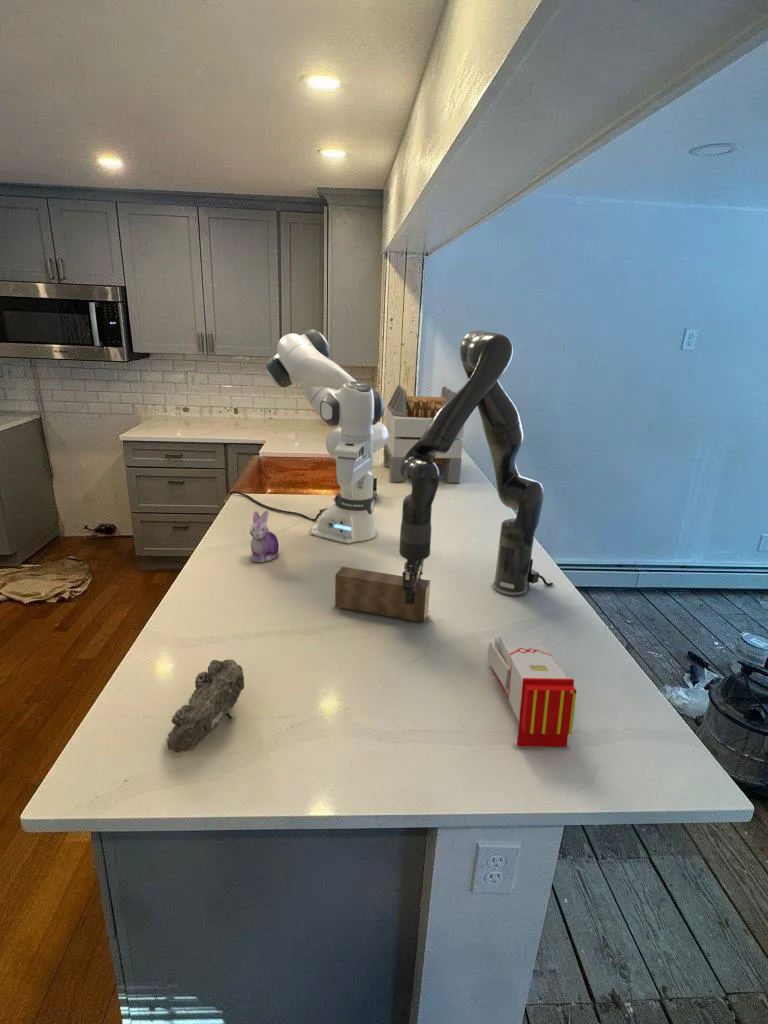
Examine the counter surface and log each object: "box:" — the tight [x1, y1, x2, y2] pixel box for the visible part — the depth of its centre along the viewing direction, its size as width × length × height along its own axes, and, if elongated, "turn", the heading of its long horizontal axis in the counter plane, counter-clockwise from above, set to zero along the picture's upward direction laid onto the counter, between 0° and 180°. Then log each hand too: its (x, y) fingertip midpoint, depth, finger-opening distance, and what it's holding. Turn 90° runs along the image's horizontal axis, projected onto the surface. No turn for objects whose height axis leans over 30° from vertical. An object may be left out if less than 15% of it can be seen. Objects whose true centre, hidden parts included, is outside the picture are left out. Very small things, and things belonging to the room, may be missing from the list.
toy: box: [486, 635, 577, 748], centre depth 115 cm, size 12×13×30 cm
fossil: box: [166, 658, 245, 754], centre depth 106 cm, size 22×10×15 cm
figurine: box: [249, 509, 280, 563], centre depth 174 cm, size 9×10×15 cm
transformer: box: [383, 384, 465, 484], centre depth 268 cm, size 34×33×41 cm
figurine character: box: [373, 477, 378, 500], centre depth 233 cm, size 7×8×15 cm
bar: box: [334, 566, 431, 623], centre depth 146 cm, size 24×5×9 cm, turn 74°
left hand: (355, 493), depth 157 cm, fingers open, 8 cm apart
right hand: (412, 598), depth 144 cm, fingers closed on bar, 5 cm apart
